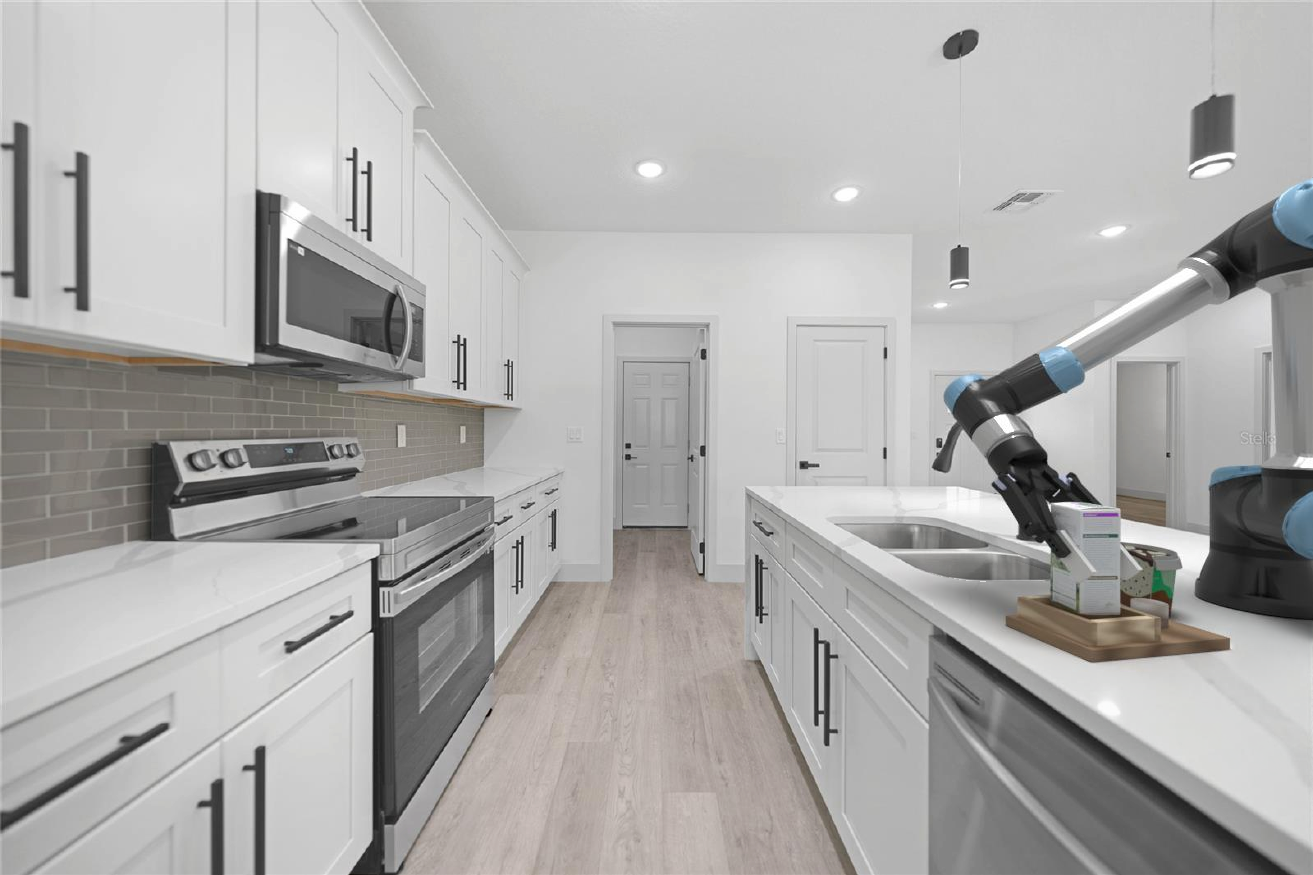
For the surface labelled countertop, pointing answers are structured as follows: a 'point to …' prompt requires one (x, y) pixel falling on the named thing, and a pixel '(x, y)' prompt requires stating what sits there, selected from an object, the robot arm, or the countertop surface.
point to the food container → (1151, 574)
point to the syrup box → (1089, 558)
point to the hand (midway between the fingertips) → (1110, 575)
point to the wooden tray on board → (1112, 630)
